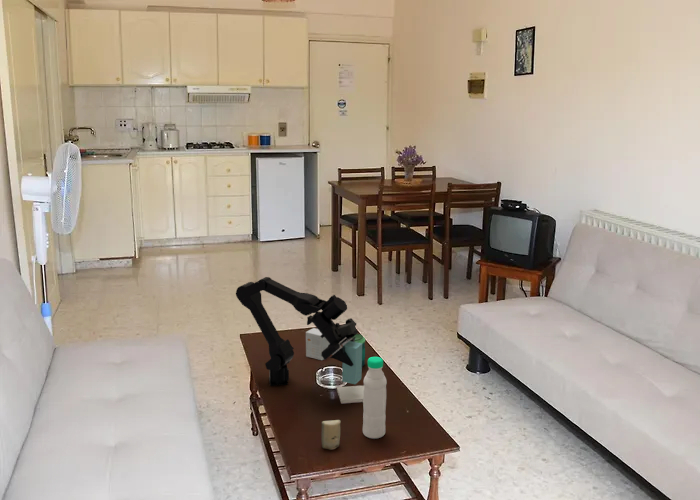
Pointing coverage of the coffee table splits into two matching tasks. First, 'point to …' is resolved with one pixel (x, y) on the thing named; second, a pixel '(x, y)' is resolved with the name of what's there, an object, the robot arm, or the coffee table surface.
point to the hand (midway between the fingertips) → (355, 362)
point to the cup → (361, 339)
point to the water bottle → (374, 399)
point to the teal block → (353, 372)
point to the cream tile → (350, 394)
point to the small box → (315, 344)
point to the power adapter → (330, 434)
